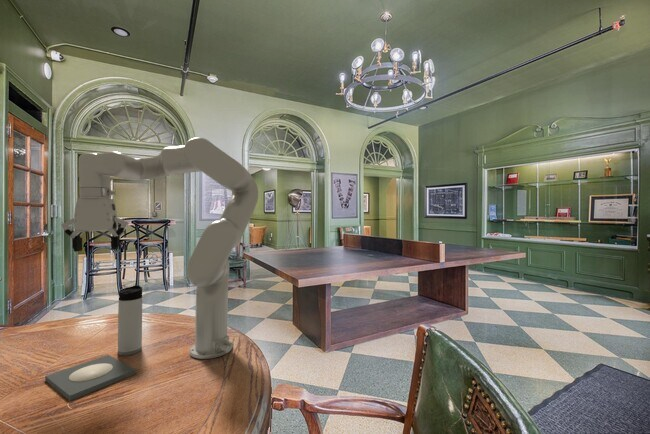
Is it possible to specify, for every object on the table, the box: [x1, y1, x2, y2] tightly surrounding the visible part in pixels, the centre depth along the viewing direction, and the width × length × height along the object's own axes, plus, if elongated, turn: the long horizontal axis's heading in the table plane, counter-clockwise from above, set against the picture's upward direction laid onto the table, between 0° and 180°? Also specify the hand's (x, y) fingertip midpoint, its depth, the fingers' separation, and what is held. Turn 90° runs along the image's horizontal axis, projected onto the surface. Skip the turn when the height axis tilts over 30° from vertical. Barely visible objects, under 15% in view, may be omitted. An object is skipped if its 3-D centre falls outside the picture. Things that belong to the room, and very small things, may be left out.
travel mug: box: [117, 285, 143, 357], centre depth 92 cm, size 6×7×20 cm
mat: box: [44, 354, 137, 402], centre depth 77 cm, size 16×14×1 cm
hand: (96, 250), depth 90 cm, fingers open, 9 cm apart
